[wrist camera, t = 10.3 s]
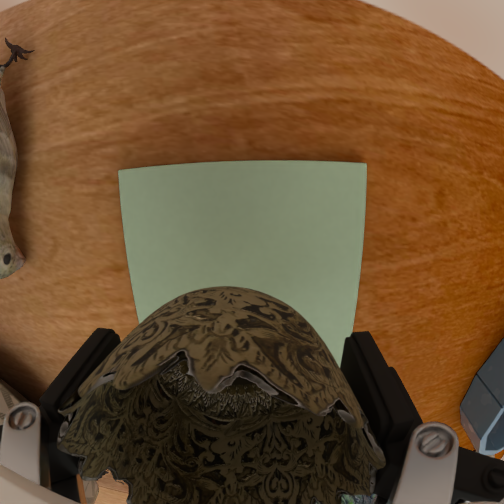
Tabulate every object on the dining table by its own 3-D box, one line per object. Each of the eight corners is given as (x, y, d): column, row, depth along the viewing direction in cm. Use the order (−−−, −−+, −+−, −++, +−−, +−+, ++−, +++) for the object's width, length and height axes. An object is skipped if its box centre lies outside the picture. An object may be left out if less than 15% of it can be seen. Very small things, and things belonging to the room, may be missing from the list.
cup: (345, 351, 13) (400, 503, 5) (207, 401, 14) (182, 540, 6) (278, 202, 11) (325, 311, 3) (120, 283, 12) (6, 410, 4)
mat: (122, 169, 15) (117, 170, 14) (363, 162, 14) (367, 163, 14) (152, 365, 19) (150, 370, 18) (343, 366, 18) (345, 372, 18)
